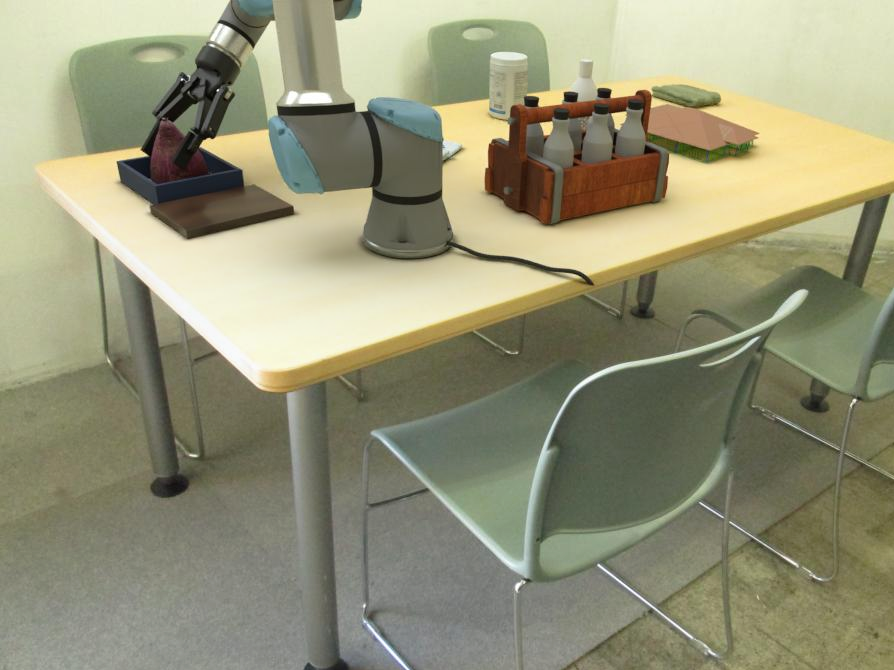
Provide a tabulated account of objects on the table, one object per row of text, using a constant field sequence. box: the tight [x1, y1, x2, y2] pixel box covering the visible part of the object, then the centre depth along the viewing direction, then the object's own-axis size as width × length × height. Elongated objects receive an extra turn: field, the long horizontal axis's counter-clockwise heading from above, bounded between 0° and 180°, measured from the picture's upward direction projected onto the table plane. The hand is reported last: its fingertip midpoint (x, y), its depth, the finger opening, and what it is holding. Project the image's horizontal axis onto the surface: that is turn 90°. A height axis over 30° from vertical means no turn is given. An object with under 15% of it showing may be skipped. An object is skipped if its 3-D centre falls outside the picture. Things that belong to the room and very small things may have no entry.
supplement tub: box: [488, 51, 529, 121], centre depth 214 cm, size 10×10×15 cm
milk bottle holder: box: [484, 87, 670, 225], centre depth 165 cm, size 21×35×19 cm, turn 126°
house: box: [619, 103, 760, 164], centre depth 207 cm, size 23×33×8 cm
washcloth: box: [650, 83, 722, 108], centre depth 244 cm, size 13×18×3 cm
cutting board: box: [149, 183, 295, 239], centre depth 151 cm, size 14×20×2 cm
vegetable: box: [150, 118, 210, 184], centre depth 157 cm, size 10×10×15 cm
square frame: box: [116, 146, 245, 205], centre depth 160 cm, size 17×17×4 cm
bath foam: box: [569, 58, 598, 130], centre depth 191 cm, size 7×7×20 cm
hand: (162, 160), depth 156 cm, fingers closed on vegetable, 8 cm apart
